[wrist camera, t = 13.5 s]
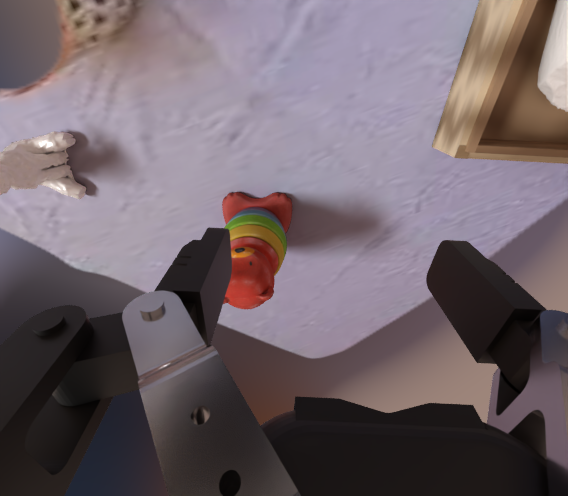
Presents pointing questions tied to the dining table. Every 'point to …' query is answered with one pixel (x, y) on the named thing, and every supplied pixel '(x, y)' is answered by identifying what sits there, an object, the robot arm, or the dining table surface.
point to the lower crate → (478, 81)
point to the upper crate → (521, 95)
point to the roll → (556, 59)
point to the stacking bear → (255, 245)
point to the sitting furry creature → (39, 165)
